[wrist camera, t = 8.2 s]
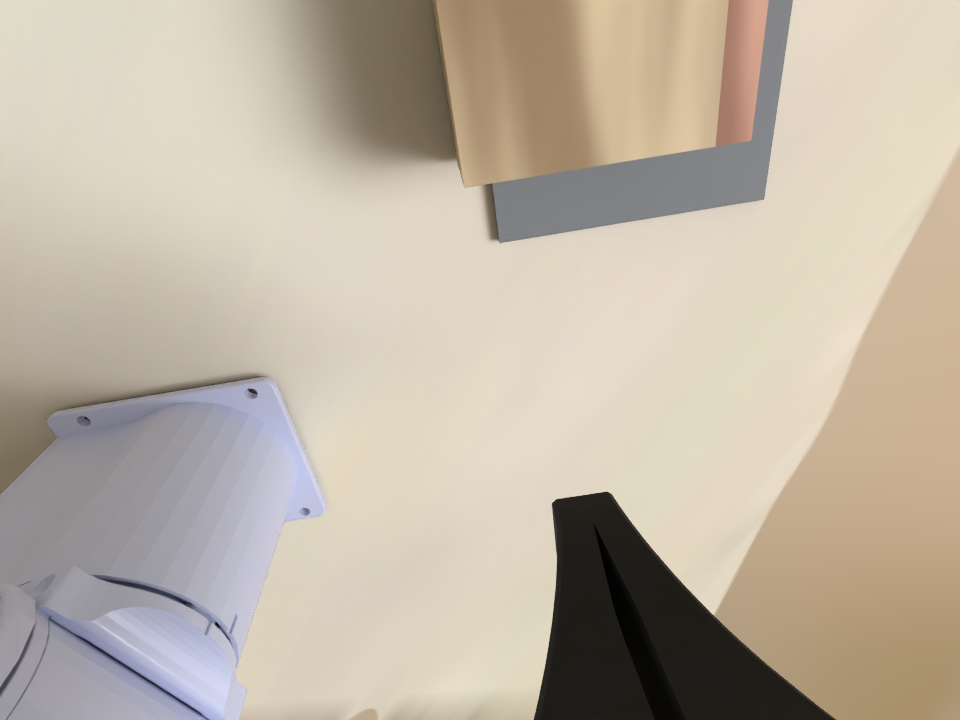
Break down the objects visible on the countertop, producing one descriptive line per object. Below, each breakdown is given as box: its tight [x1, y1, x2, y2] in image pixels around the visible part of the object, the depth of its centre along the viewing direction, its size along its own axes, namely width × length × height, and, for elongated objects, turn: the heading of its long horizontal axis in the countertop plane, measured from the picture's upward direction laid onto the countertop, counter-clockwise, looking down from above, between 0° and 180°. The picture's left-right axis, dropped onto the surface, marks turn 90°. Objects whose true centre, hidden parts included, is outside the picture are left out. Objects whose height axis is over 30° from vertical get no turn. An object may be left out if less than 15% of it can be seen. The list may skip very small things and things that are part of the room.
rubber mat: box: [492, 0, 793, 243], centre depth 16 cm, size 10×12×1 cm
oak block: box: [432, 0, 769, 188], centre depth 14 cm, size 4×6×8 cm
